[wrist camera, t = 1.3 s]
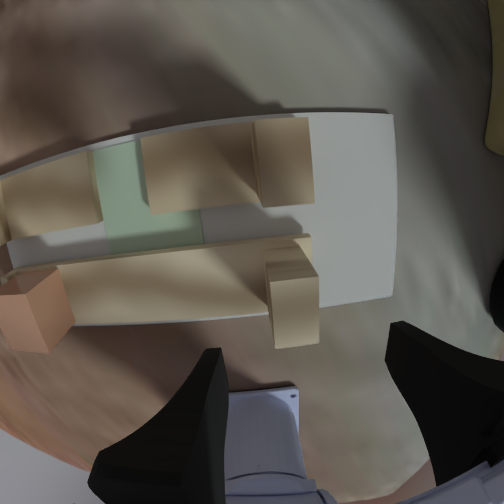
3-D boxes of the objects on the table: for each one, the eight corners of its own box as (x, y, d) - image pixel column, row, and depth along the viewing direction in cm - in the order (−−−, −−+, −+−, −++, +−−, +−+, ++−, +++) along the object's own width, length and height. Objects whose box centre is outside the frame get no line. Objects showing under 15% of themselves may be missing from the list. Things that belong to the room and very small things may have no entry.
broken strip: (305, 195, 19) (331, 212, 14) (11, 238, 19) (-34, 261, 14) (298, 120, 18) (324, 106, 12) (0, 181, 18) (-48, 193, 12)
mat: (390, 293, 23) (392, 296, 22) (35, 323, 22) (33, 326, 22) (390, 114, 18) (393, 114, 18) (-3, 177, 18) (-7, 178, 17)
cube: (75, 321, 20) (49, 353, 16) (37, 321, 20) (10, 349, 16) (58, 268, 19) (25, 294, 15) (20, 273, 19) (-13, 296, 15)
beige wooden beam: (310, 299, 21) (332, 348, 16) (34, 318, 21) (-1, 354, 16) (308, 233, 20) (334, 264, 14) (16, 267, 20) (-26, 296, 14)
